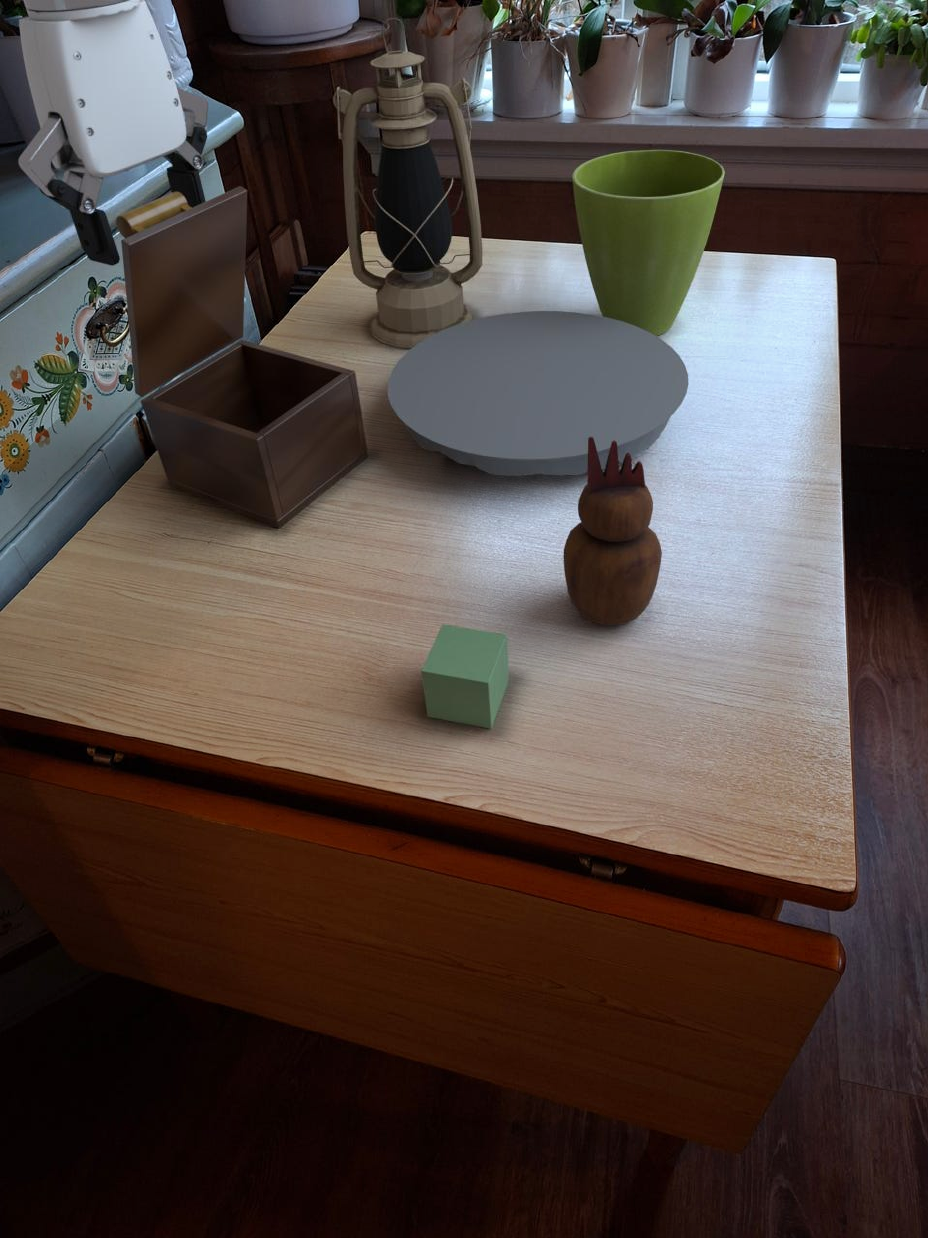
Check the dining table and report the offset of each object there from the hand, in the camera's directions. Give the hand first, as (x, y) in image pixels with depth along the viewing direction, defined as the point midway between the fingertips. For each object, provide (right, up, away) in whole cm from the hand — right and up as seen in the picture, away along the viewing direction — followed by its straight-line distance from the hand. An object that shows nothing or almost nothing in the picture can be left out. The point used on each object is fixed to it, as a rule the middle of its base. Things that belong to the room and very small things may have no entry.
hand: (151, 240), depth 73 cm
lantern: (+21, +3, +31) cm, 38 cm away
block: (+26, -36, -11) cm, 46 cm away
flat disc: (+32, -11, +15) cm, 37 cm away
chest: (+7, -17, +11) cm, 21 cm away
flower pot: (+45, +2, +28) cm, 53 cm away
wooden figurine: (+36, -30, -6) cm, 47 cm away
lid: (+3, -4, +2) cm, 5 cm away
